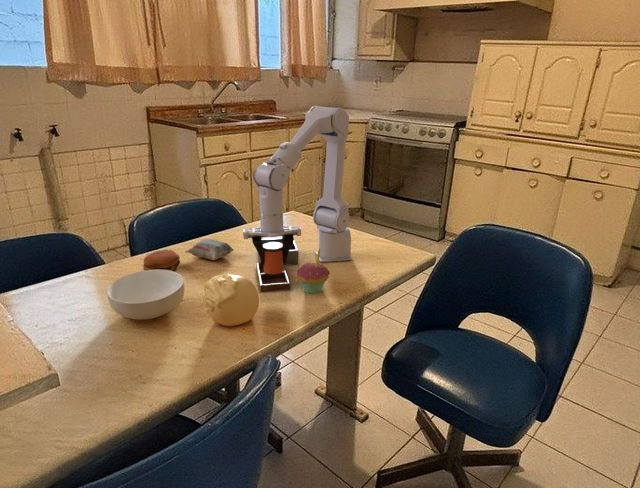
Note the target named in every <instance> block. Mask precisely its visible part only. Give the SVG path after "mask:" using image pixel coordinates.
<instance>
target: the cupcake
mask: <svg viewBox="0 0 640 488" xmlns="http://www.w3.org/2000/svg"><path fill="white" fill-rule="evenodd" d="M317 251H318V253H317V255H316V258H315V259H316V260H315V262H306V263H303V264H302V265H300V266H299V267H297V269H296V273H295V274H296V275H295V278H296V279H297V280H298V281H300V283H301V285H302V288H303V290H304V292H306V293H308V294H318V293H321V292H322V291H323V288H324V285H325V283H326V282H327V280H329V277H330V274H331V272H330V270H329V268H327V267H326V266H325V265H324V264H322V263H320V261H319V257H320V249H319V248H318V250H317Z"/></svg>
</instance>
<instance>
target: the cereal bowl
mask: <svg viewBox="0 0 640 488" xmlns="http://www.w3.org/2000/svg"><path fill="white" fill-rule="evenodd" d="M185 285H186V284H185V280H184V277H183V276H182V275H181V274H180V273H178V272H176V271H174V270H172V271H169V270H146V271H144V270H141V271H136V272H132V273H128V274H126V275H124V276H121V277H120V278H117V279H116V280H114V281H113V282H112V283H110V284H109V285H108V287H107V290H106V297H107V301H108V304H109V305H110V307H111V309H112V310H113V311H114V312H115V313H116V314H118V315H119V316H121V317H124V318H125V319H130V320H152V319H156V318H159V317H162V316H164V315H166V314H168V313H169V312H171V311H173V310H174V309H176V308H177V307H178V306H179V305H180V304H181V302H182V300H183V299H184V297H185V291H186V288H185V287H186V286H185Z"/></svg>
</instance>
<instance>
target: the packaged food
mask: <svg viewBox="0 0 640 488" xmlns="http://www.w3.org/2000/svg"><path fill="white" fill-rule="evenodd" d="M234 251H235V249H234V248H233V246H231V245H230V244H228V243H227V242H224V241H220V240H215V239H212V238H204V239H202V240H200V241H198V242H197V243H195V244H194V245H193V246H192V247H190V248H189V249H187V250H185V251H184V252H185V253H188V254H191V255H192V256H194V257H197V258H198V257H199V258H203V259H206V260H210V261H215V260H219V259H221V258H223V257H224V256H227V255H229V254H230V253H231V252H234Z"/></svg>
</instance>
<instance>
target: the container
mask: <svg viewBox="0 0 640 488" xmlns="http://www.w3.org/2000/svg"><path fill="white" fill-rule="evenodd" d="M263 259H264V272H265V273H267V274H279V273H282V272H283V271H284V267H285V265H284V263H283V244H282V243H279V242H268V243H265V244H264V245H263Z"/></svg>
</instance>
